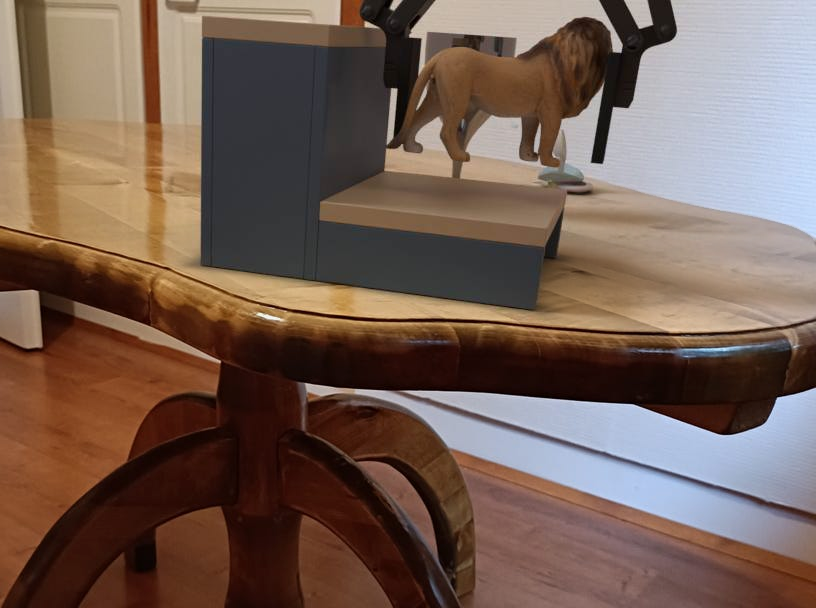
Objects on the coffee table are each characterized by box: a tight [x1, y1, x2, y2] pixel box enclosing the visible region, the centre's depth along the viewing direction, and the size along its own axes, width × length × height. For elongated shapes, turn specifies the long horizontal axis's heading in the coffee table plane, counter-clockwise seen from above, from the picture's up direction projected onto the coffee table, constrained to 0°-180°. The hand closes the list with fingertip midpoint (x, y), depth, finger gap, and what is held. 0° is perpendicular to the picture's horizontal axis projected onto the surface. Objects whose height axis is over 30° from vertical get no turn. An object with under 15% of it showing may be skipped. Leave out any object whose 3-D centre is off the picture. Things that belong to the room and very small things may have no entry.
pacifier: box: [537, 129, 594, 193], centre depth 105 cm, size 7×6×6 cm
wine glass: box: [423, 31, 518, 179], centre depth 87 cm, size 8×8×15 cm
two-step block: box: [200, 15, 568, 311], centre depth 65 cm, size 22×17×15 cm
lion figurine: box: [385, 16, 614, 167], centre depth 61 cm, size 15×5×9 cm, turn 105°
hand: (497, 152), depth 63 cm, fingers closed on lion figurine, 12 cm apart
